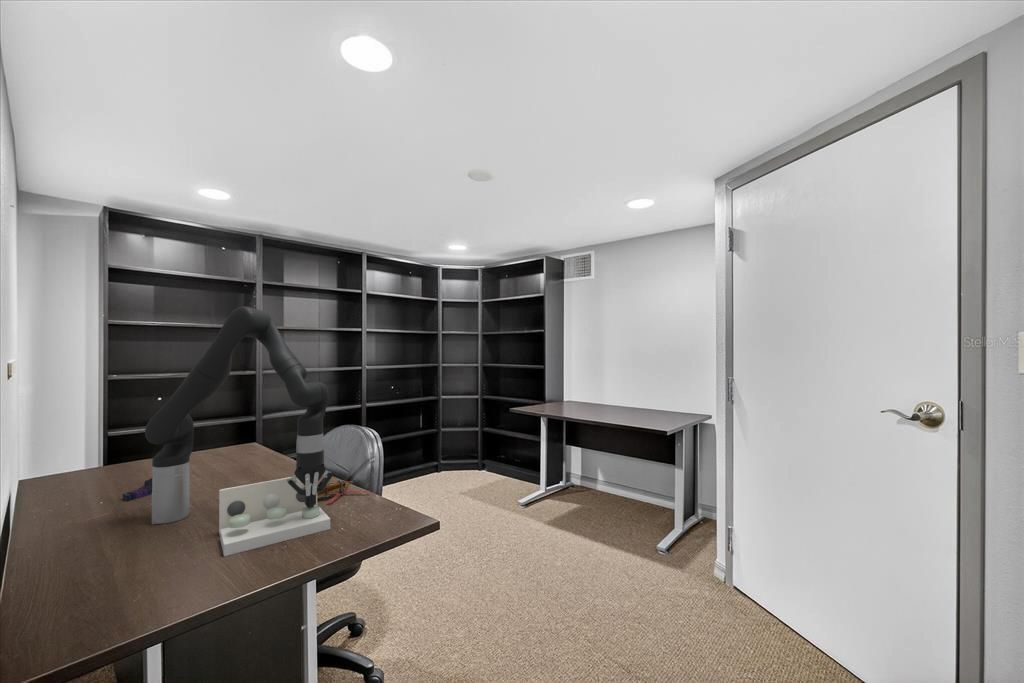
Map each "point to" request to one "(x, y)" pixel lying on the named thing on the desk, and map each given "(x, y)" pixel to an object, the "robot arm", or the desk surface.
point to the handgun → (139, 491)
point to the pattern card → (259, 500)
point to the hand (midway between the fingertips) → (310, 506)
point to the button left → (239, 521)
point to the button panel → (271, 532)
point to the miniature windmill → (335, 489)
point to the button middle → (276, 512)
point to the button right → (310, 512)
